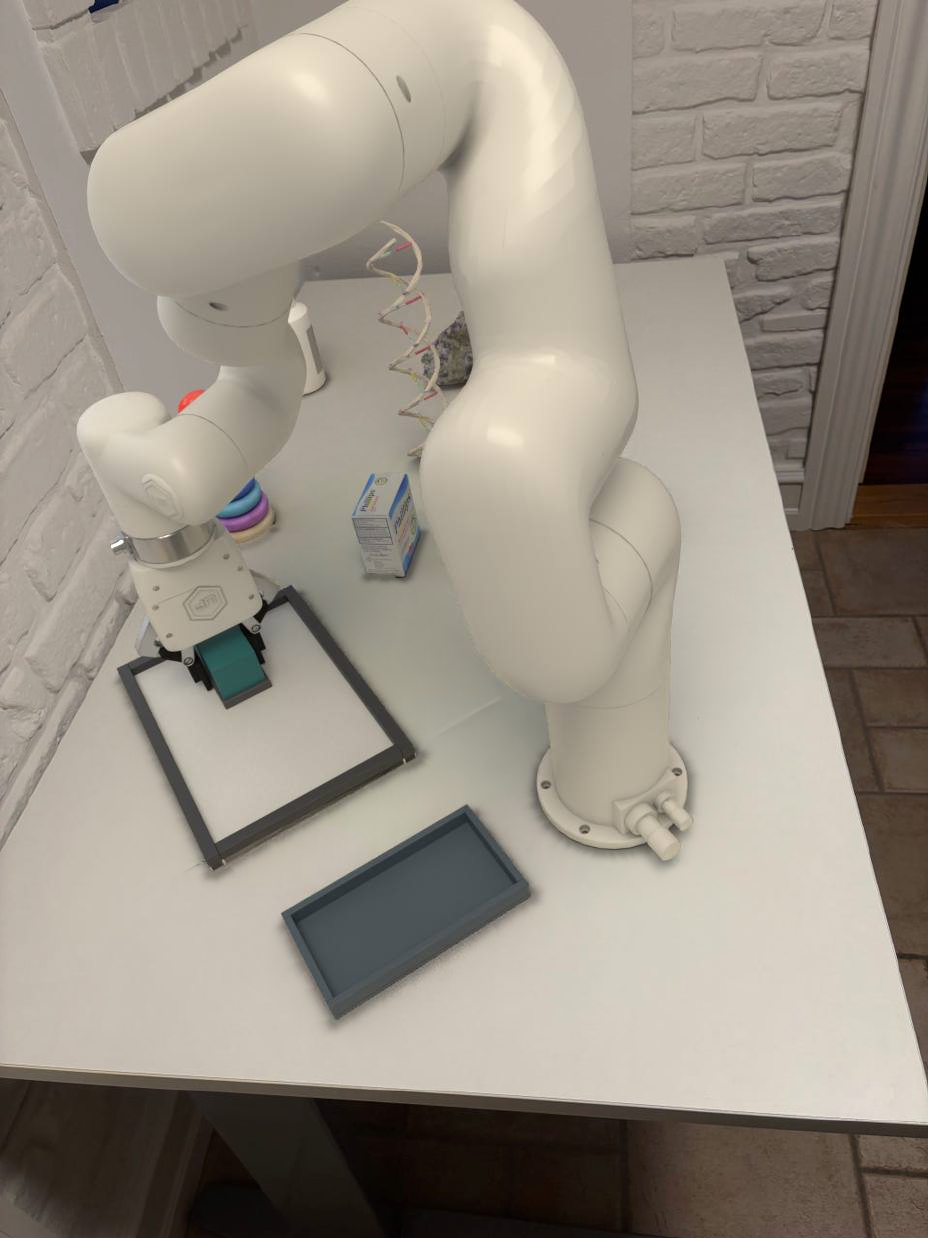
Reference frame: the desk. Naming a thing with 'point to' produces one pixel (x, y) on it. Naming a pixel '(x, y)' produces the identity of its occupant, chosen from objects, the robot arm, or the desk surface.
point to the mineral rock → (451, 354)
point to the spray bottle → (307, 346)
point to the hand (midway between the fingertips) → (231, 667)
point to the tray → (403, 909)
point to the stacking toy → (242, 502)
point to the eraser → (232, 667)
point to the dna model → (410, 329)
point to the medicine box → (386, 524)
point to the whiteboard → (266, 735)
